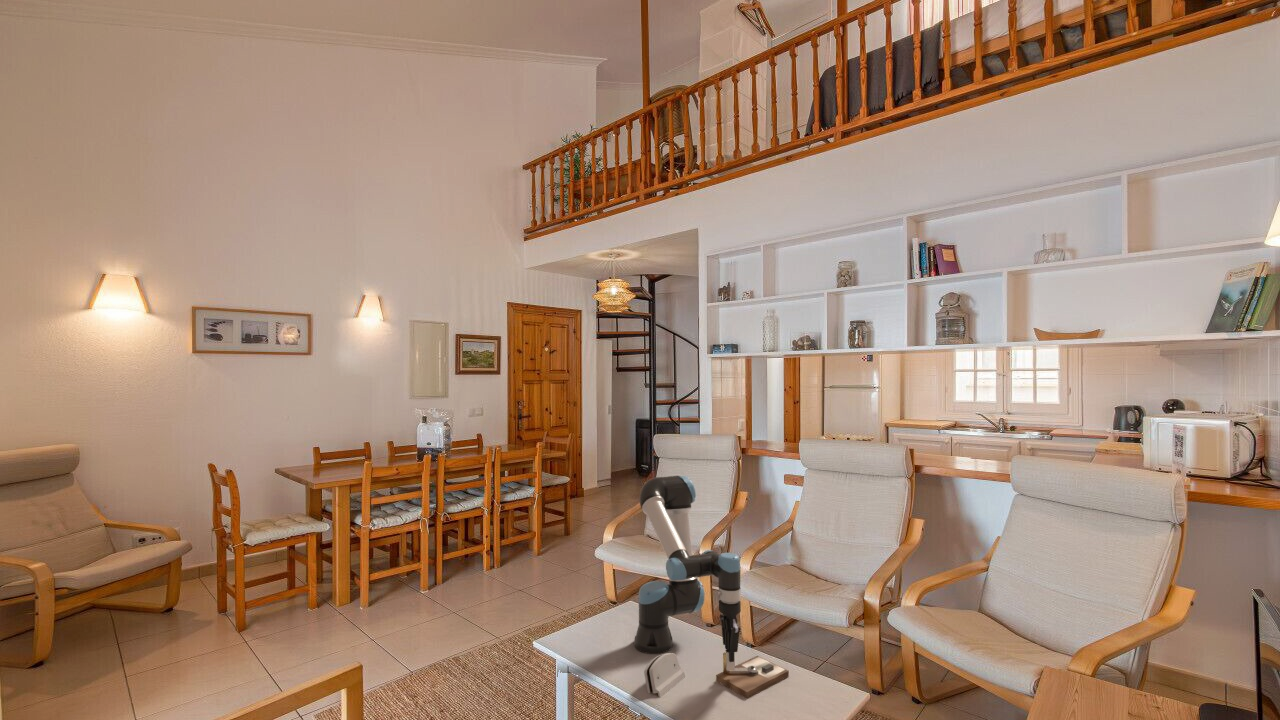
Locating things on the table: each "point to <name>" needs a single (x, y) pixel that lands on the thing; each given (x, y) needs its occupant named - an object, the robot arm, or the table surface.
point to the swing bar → (738, 670)
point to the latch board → (753, 677)
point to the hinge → (663, 674)
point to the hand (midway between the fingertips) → (730, 669)
